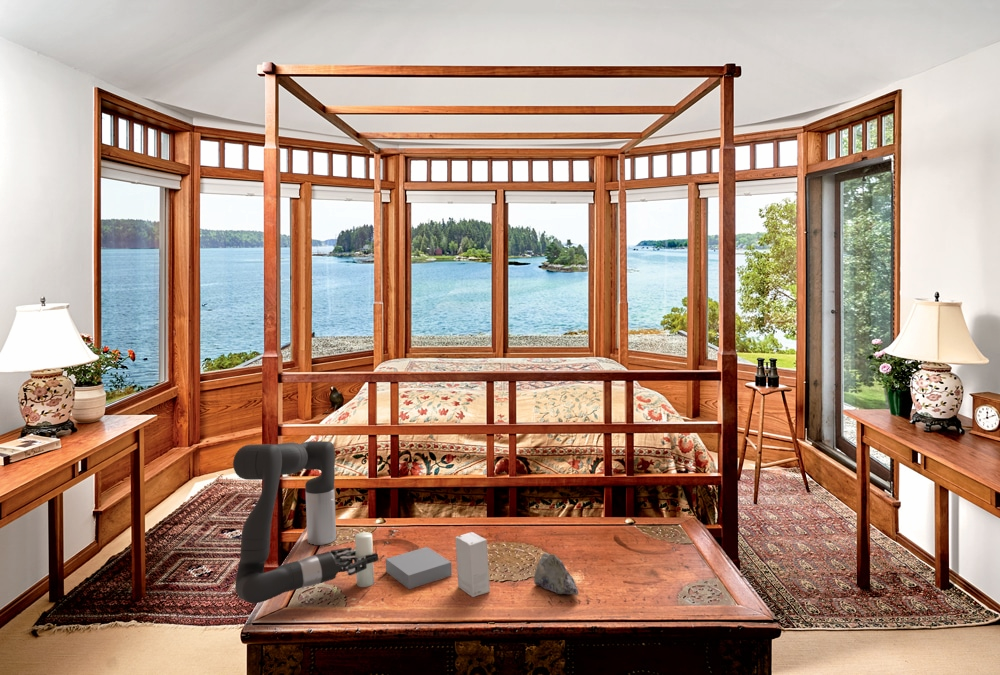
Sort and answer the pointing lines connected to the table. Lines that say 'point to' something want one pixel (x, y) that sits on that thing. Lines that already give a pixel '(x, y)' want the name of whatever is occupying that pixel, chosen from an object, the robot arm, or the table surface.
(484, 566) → the skincare box
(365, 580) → the white cylinder
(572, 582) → the mineral rock
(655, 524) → the table surface
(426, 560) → the slate plinth
